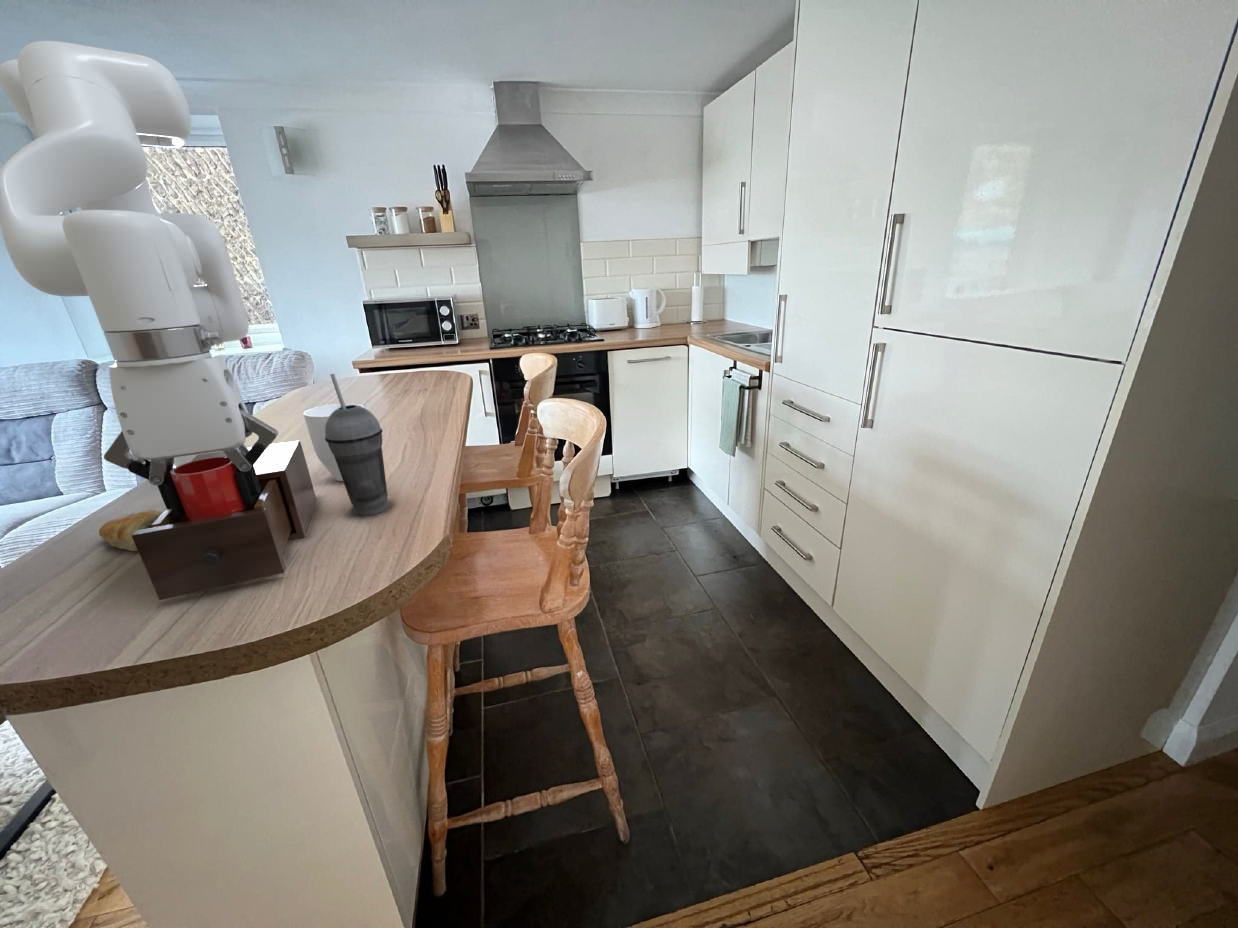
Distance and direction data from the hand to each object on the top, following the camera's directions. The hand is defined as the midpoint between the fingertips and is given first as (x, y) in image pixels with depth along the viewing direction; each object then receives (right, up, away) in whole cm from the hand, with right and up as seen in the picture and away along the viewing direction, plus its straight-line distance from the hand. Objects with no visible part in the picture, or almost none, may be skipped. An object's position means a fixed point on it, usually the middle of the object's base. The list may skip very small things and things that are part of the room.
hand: (218, 505), depth 58 cm
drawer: (0, -7, +2) cm, 7 cm away
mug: (-1, +3, +31) cm, 31 cm away
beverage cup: (+9, -2, +17) cm, 19 cm away
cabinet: (-4, -4, +13) cm, 14 cm away
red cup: (0, -1, 0) cm, 1 cm away
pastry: (-18, -6, +11) cm, 22 cm away
